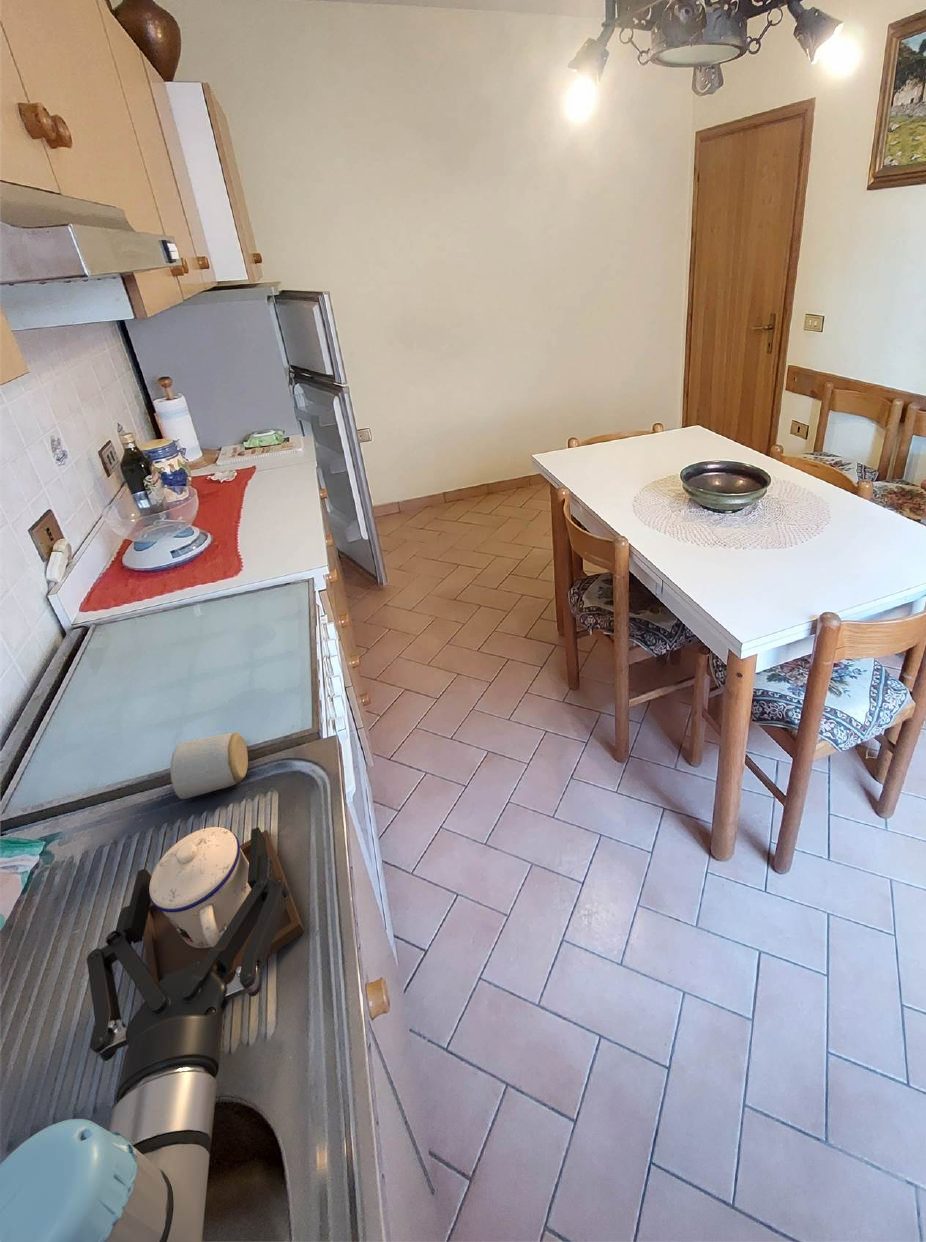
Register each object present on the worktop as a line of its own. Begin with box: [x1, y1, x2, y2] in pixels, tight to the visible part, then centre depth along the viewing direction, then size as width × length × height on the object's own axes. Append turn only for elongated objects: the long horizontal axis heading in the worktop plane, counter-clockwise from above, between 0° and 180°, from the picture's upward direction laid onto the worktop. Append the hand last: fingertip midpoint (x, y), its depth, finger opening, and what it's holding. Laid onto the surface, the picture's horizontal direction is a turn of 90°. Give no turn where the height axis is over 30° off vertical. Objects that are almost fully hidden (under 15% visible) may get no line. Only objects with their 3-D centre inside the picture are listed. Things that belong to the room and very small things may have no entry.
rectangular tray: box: [143, 829, 305, 985], centre depth 68 cm, size 15×15×2 cm
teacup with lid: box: [149, 826, 251, 948], centre depth 65 cm, size 12×9×12 cm
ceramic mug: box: [169, 732, 249, 800], centre depth 85 cm, size 11×8×8 cm
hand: (204, 855), depth 68 cm, fingers open, 11 cm apart
